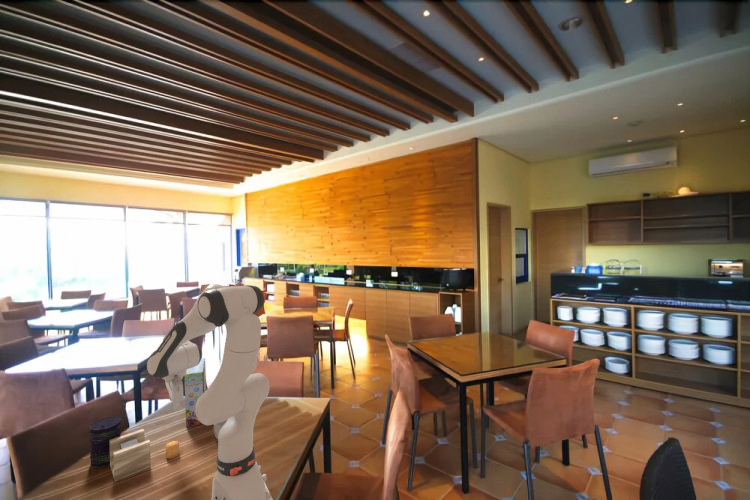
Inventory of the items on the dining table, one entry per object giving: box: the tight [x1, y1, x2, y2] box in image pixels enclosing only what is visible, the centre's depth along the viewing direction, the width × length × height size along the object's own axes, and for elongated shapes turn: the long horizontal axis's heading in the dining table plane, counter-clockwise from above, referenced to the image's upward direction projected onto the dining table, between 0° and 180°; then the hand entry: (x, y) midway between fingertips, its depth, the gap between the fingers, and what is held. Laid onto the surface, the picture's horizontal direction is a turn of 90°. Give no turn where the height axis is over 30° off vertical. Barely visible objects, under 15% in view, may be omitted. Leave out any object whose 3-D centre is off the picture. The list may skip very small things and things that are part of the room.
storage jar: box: [89, 416, 122, 469], centre depth 131 cm, size 10×10×15 cm
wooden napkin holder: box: [109, 428, 152, 483], centre depth 127 cm, size 13×11×10 cm
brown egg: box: [165, 440, 180, 460], centre depth 134 cm, size 5×5×4 cm
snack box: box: [183, 357, 207, 428], centre depth 165 cm, size 22×9×26 cm, turn 25°
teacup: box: [212, 419, 228, 440], centre depth 148 cm, size 14×11×8 cm
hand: (174, 404), depth 134 cm, fingers open, 8 cm apart
